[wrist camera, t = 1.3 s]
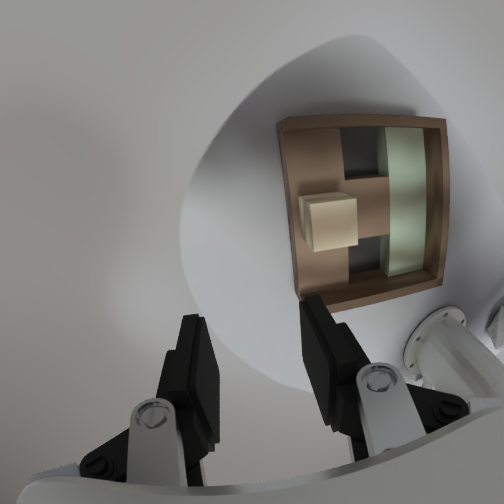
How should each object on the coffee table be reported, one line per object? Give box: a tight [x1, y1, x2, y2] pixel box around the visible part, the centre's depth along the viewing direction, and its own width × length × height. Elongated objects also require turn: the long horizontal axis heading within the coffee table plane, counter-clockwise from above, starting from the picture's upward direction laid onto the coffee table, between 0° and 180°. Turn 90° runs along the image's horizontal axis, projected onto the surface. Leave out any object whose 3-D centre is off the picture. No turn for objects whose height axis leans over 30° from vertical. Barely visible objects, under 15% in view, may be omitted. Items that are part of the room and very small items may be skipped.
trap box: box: [276, 114, 450, 314], centre depth 26 cm, size 18×16×6 cm
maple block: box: [298, 191, 358, 252], centre depth 25 cm, size 4×4×4 cm
